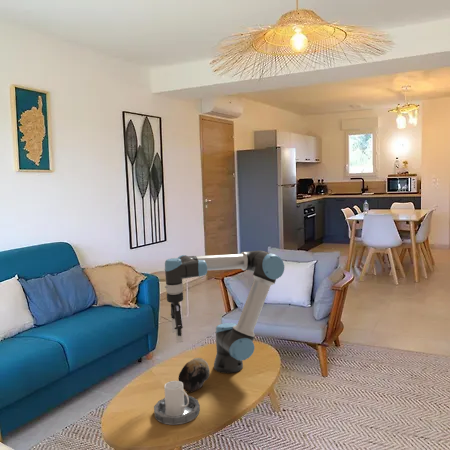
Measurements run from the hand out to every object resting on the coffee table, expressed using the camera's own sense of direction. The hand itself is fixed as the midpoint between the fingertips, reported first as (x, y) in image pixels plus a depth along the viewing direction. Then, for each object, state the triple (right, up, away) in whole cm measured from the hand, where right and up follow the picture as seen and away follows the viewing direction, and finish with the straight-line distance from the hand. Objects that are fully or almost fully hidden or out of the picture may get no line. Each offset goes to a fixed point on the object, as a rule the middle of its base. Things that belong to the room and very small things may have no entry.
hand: (177, 337), depth 214 cm
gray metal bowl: (+2, -29, -16) cm, 33 cm away
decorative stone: (+8, -26, +4) cm, 28 cm away
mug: (+2, -28, -17) cm, 33 cm away
